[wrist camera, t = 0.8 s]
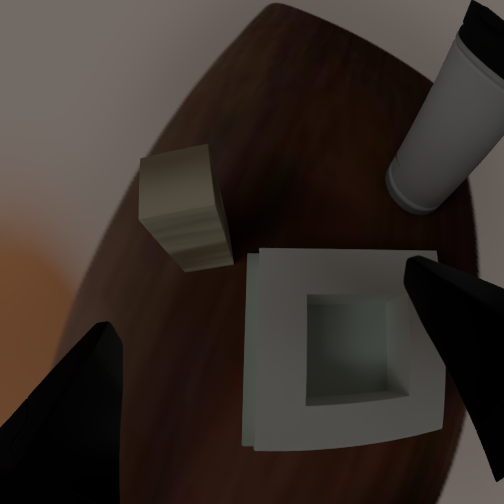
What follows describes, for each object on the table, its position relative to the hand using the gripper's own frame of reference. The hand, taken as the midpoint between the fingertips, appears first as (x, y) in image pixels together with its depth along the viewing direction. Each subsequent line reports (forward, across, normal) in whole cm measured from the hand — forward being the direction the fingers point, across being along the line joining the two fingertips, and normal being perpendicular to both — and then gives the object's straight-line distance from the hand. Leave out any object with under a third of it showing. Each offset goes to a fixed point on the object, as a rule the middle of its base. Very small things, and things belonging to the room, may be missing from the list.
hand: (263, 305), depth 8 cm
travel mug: (+17, -17, +5) cm, 25 cm away
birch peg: (+16, +3, +6) cm, 17 cm away
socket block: (+8, -6, +13) cm, 16 cm away
